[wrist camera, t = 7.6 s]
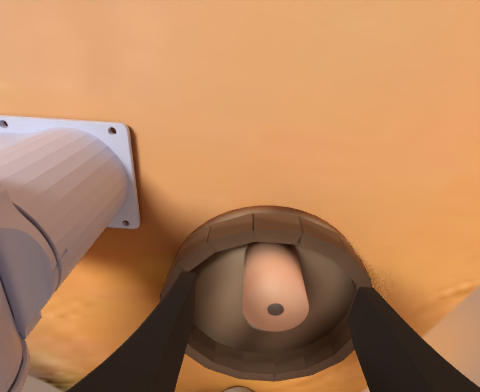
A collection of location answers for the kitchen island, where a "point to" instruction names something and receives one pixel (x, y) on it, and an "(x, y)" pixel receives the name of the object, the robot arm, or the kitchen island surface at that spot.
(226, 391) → the ceramic mug
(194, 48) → the kitchen island surface
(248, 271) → the bead
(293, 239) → the groove tray
